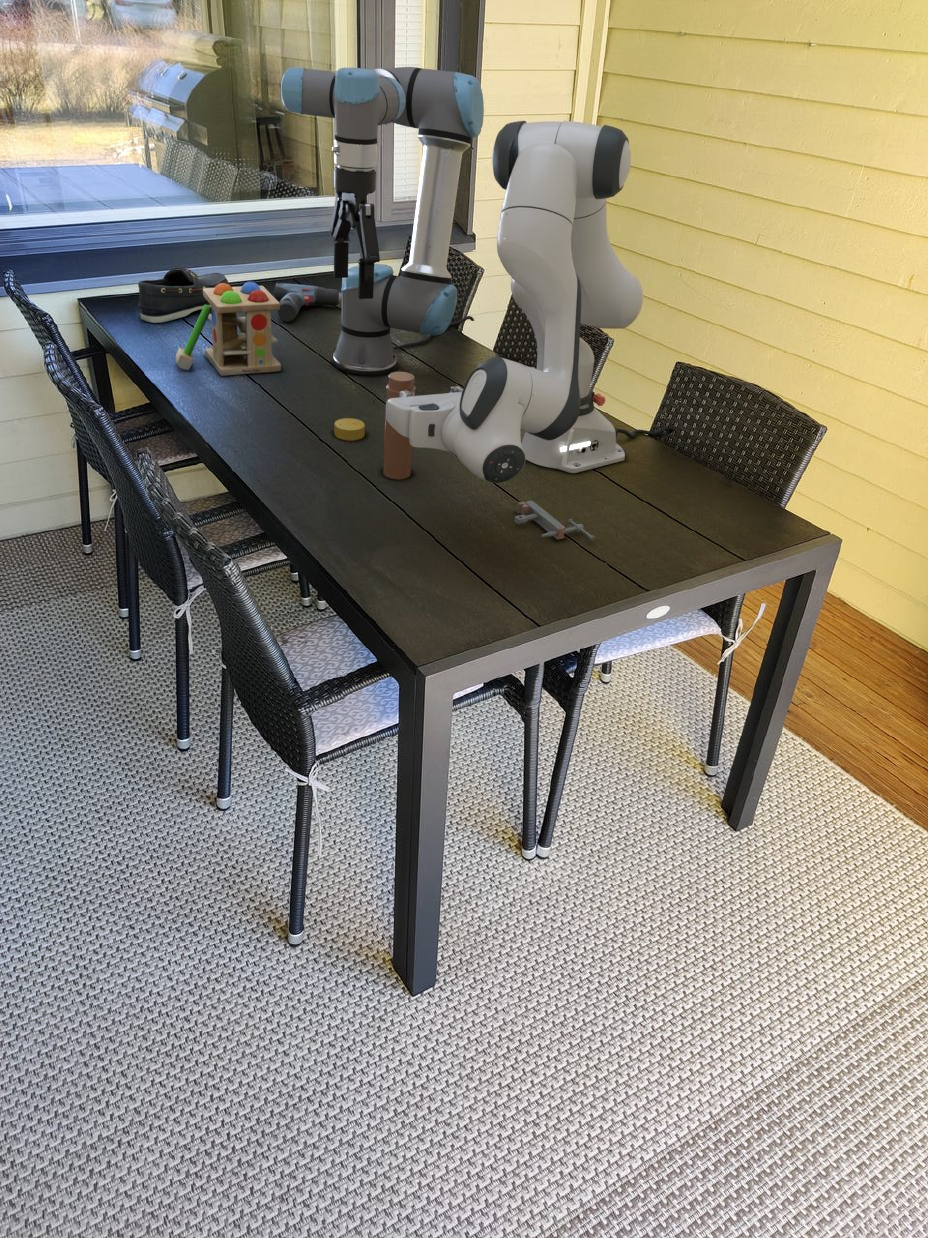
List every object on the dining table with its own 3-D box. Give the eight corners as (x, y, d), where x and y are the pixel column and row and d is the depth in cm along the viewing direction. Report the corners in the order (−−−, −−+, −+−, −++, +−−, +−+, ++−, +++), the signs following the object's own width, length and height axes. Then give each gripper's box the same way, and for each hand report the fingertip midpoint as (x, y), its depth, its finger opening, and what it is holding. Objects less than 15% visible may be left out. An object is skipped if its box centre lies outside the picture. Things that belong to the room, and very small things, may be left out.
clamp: (504, 504, 179) (549, 495, 183) (503, 515, 180) (548, 506, 184) (550, 543, 168) (597, 532, 173) (548, 554, 169) (595, 543, 174)
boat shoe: (248, 301, 272) (246, 262, 267) (158, 325, 248) (153, 283, 243) (214, 293, 278) (211, 255, 272) (123, 315, 254) (117, 274, 248)
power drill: (335, 306, 256) (344, 285, 273) (264, 300, 255) (277, 279, 272) (335, 327, 259) (344, 304, 276) (264, 320, 258) (277, 299, 275)
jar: (408, 467, 194) (414, 371, 183) (412, 479, 189) (418, 381, 178) (381, 467, 193) (385, 370, 182) (384, 479, 188) (388, 381, 177)
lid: (331, 438, 202) (331, 428, 200) (337, 426, 207) (337, 416, 205) (361, 442, 201) (361, 431, 200) (367, 430, 207) (367, 419, 205)
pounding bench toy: (183, 379, 220) (176, 299, 210) (169, 357, 231) (162, 280, 221) (282, 371, 230) (280, 294, 220) (264, 350, 240) (262, 276, 230)
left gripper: (312, 153, 183) (313, 269, 195) (360, 182, 165) (357, 308, 177) (350, 153, 186) (349, 268, 198) (401, 181, 168) (395, 306, 180)
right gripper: (520, 400, 162) (484, 370, 172) (405, 411, 154) (374, 379, 164) (516, 435, 165) (481, 404, 175) (403, 448, 157) (373, 415, 168)
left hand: (352, 287), depth 187 cm, fingers open, 13 cm apart
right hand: (428, 392), depth 170 cm, fingers open, 8 cm apart
